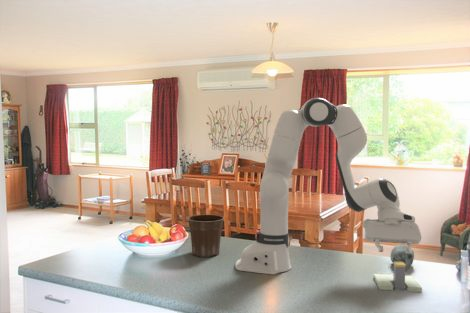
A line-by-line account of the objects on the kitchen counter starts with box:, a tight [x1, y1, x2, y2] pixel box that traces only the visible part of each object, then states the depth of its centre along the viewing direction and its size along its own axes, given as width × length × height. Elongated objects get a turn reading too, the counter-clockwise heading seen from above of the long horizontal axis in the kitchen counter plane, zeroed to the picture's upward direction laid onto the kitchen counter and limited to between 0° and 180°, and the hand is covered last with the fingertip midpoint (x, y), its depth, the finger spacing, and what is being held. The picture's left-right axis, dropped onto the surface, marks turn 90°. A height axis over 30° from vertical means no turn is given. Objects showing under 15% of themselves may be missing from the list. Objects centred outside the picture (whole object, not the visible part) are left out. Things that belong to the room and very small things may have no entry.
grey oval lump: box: [390, 243, 415, 270], centre depth 176 cm, size 14×10×10 cm
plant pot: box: [187, 214, 225, 258], centre depth 191 cm, size 16×16×16 cm
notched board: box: [373, 273, 423, 293], centre depth 155 cm, size 14×12×2 cm
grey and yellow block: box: [392, 261, 406, 291], centre depth 151 cm, size 3×3×9 cm
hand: (394, 252), depth 158 cm, fingers open, 8 cm apart
